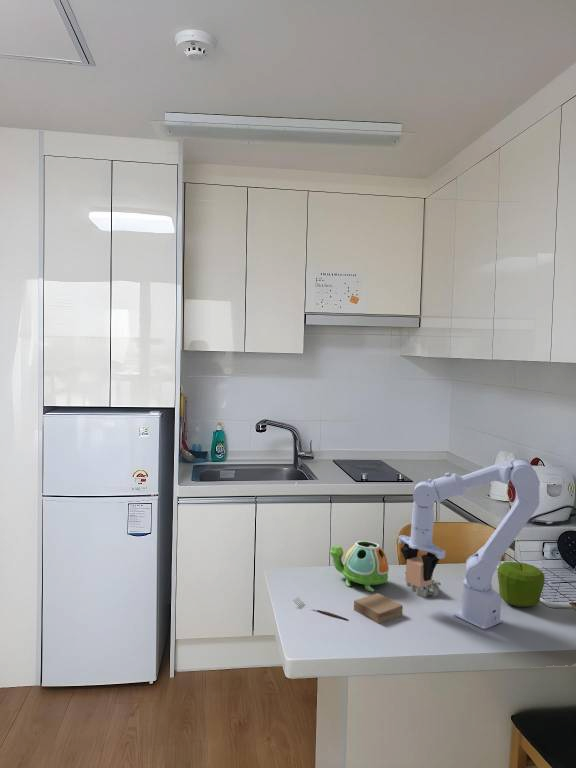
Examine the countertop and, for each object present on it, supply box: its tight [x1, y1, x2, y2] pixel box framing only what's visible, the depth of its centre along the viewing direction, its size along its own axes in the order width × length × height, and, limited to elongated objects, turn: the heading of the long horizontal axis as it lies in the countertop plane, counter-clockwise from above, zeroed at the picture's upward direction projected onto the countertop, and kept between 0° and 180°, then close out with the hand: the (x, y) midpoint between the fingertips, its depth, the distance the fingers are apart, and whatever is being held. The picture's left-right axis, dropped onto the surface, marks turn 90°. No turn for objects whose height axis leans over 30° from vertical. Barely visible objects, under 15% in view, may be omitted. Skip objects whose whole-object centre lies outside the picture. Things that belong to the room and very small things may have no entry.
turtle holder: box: [329, 540, 390, 592], centre depth 175 cm, size 12×18×12 cm
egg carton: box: [404, 571, 442, 598], centre depth 172 cm, size 11×8×4 cm
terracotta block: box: [405, 555, 434, 588], centre depth 158 cm, size 5×5×6 cm
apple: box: [497, 561, 545, 608], centre depth 165 cm, size 12×12×11 cm
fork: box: [292, 596, 349, 621], centre depth 154 cm, size 3×16×2 cm, turn 59°
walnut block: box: [353, 592, 404, 624], centre depth 155 cm, size 9×9×3 cm
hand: (419, 576), depth 158 cm, fingers closed on terracotta block, 5 cm apart
